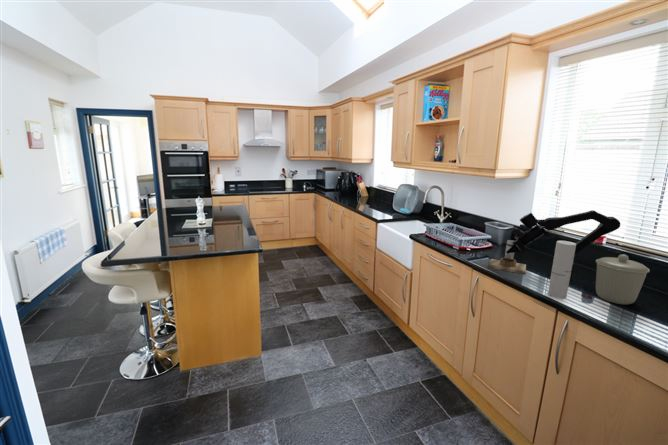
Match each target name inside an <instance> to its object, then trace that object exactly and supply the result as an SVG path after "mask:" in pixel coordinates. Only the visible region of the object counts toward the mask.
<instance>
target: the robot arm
mask: <svg viewBox="0 0 668 445" xmlns="http://www.w3.org/2000/svg"><path fill="white" fill-rule="evenodd" d="M590 220H593V221H596V222H598V223H599V224H598V225H597V227H596V228H595V229H594V230H592V231H591V232H588V234H587V235H585V236H584V237H582V238H580V239H579V240H578V241H576V242H575V243H576V248H575V254H574V258H575V257H576V256H577V254H578V253H580V252H582V251H583V250H584V249H586V248H587V247H588V246H590V245H591V244H593V243H595V241H597V240H598V239H600V238H601V237H603V236H605V235H607V234H610V233H612V232H615V231H617V230H618V229H619V228H620V227H621V222H620V220H619V219H617V218H616V217H614V216H607V215H605V214H602V213H600V212H598V211H596V210H589V211H585V212H579V213H576V214H571V215H567V216H561V217H558V216H557V217H556V216H555V217H547V218H545V219H537V218H536V217H535V216H534V214H533V212H530V213H527V214H526V215H523V217H521V218H520V219H519V222H521V223H522V225H524V227H525V228H526V229H529V230H525V231H523V230H521V229H520V228H518V227H516V226H514V227H513V228H512V229H511V231H510V233H511V234H513V235H515V236H514V238H513V239H514V240H513V241H514V243H513V246H512V247H511V248H510V249H509V250H507V251H506V250H505V251H506V253H507V254H508V253H514V254H515V253H520V252H524V251H526V249H527V247H528V245H529V244H531V243H532V242H535V241H536V240H538V239H539V238H540V237H542V236H545V237H547V238H548V237H549V234H550V231H554V230H556V229H559V228H560V227H563V226H566V225H569V224H570V225H571V224H574V223H580V222H586V221H590ZM575 266H576V264H575V263H574V262H573V264H572V270H571V275H570V281H574V279H573V277H574V270H575Z"/></svg>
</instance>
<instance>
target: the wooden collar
mask: <svg viewBox="0 0 668 445" xmlns="http://www.w3.org/2000/svg"><path fill="white" fill-rule="evenodd" d="M504 258H505V257H500V259H499V260H500V265H502V266H505V267H516V263H517V260H516V259H515V258H513V262H510V261H505V260H504Z"/></svg>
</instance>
